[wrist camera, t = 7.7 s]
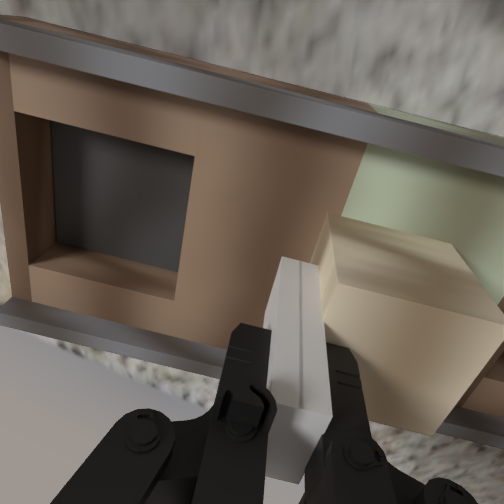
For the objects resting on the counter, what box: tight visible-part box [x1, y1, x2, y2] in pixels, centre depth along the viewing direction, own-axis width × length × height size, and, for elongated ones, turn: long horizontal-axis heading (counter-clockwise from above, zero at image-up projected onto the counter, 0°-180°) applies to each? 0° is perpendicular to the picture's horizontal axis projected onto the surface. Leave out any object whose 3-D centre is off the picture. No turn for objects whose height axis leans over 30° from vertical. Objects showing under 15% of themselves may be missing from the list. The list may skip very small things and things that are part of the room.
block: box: [310, 213, 504, 436], centre depth 14 cm, size 5×5×5 cm
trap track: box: [0, 15, 504, 449], centre depth 17 cm, size 31×13×4 cm, turn 78°
